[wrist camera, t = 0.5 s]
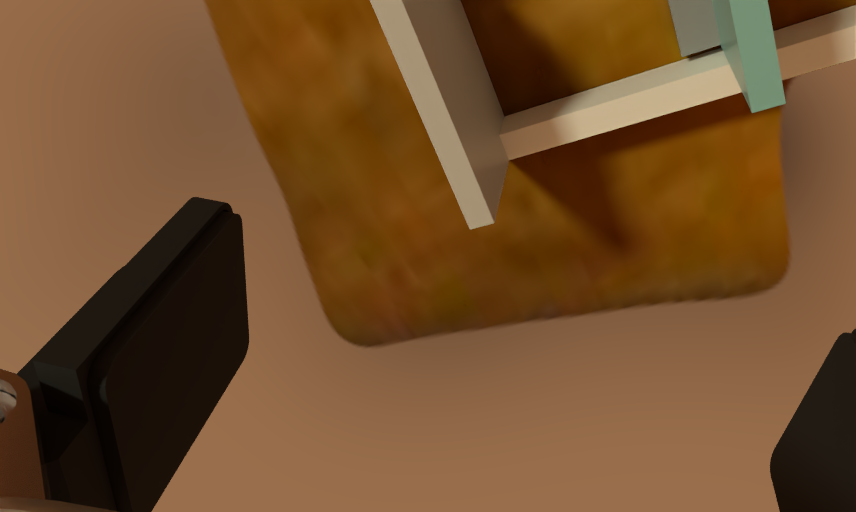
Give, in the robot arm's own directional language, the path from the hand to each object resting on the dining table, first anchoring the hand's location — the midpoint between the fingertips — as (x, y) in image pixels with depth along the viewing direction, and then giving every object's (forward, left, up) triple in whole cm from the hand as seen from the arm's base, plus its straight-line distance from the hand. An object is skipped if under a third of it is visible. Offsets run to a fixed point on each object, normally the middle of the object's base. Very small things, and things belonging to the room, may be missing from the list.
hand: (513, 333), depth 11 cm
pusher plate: (-5, +2, -28) cm, 28 cm away
